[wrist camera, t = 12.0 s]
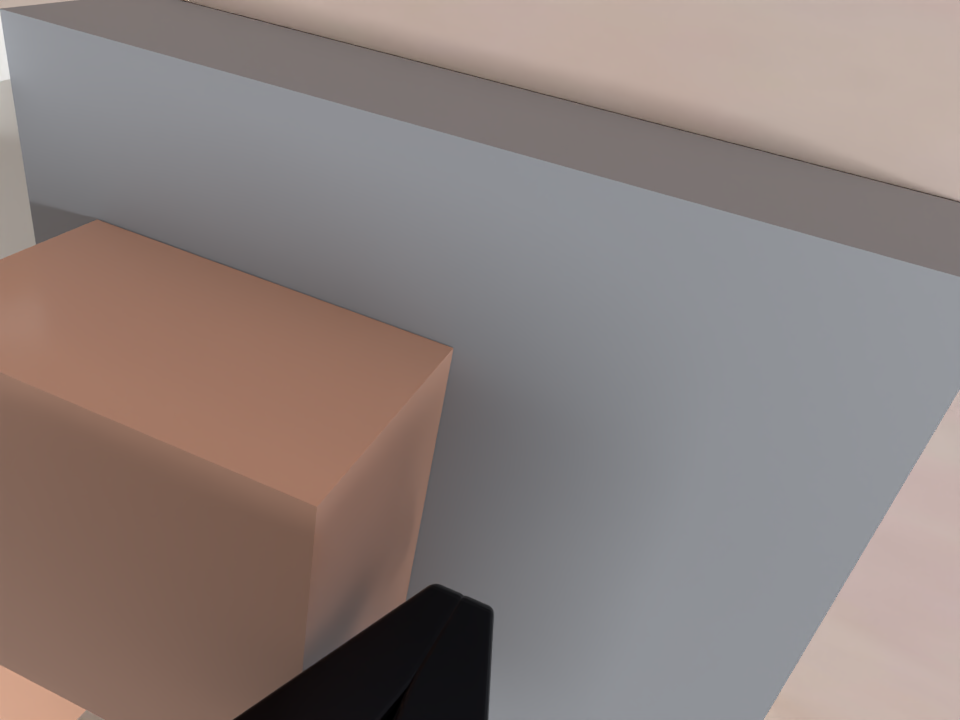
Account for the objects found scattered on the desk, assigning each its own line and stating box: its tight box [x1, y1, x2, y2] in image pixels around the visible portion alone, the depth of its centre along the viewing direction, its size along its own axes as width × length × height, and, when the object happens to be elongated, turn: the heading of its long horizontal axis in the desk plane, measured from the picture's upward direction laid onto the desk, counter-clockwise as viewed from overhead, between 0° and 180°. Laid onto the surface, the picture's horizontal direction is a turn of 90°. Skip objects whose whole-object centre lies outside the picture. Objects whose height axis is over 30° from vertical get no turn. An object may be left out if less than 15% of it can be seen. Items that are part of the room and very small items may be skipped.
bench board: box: [0, 0, 960, 720], centre depth 14 cm, size 18×11×2 cm, turn 170°
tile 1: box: [0, 219, 453, 720], centre depth 10 cm, size 5×5×3 cm
